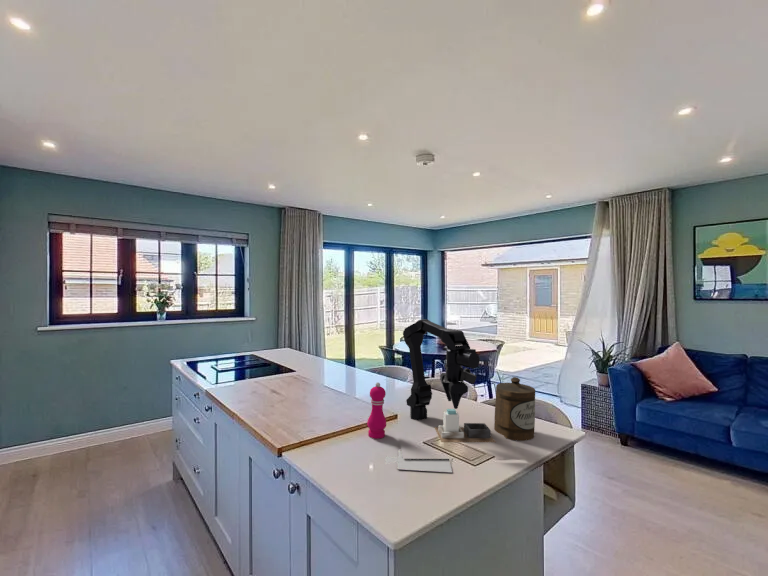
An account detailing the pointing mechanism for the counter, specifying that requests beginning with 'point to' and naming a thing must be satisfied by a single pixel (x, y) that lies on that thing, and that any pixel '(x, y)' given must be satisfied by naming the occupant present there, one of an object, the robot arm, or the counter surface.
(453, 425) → the plug
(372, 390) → the pepper mill
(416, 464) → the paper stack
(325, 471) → the counter surface
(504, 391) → the wooden container
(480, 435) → the brown board with frames
